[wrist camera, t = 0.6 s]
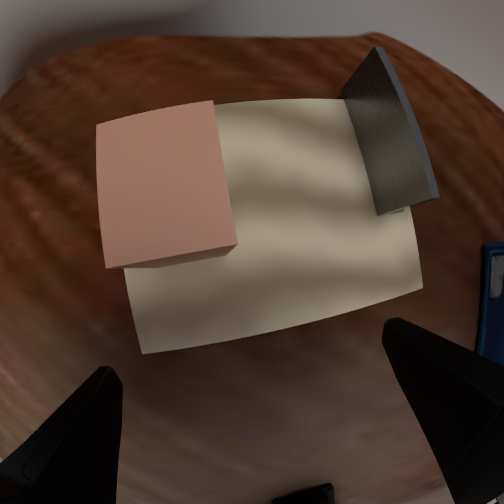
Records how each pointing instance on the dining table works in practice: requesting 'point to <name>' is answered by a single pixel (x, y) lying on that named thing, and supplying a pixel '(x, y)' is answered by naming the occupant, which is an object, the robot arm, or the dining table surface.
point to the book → (493, 305)
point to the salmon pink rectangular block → (163, 188)
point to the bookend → (388, 136)
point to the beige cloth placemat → (282, 234)
